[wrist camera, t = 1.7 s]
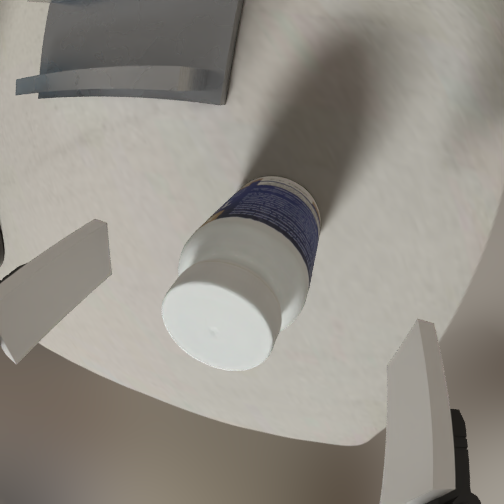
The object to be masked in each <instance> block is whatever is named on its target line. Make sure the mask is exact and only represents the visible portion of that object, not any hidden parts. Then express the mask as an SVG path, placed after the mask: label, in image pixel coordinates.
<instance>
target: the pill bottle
mask: <svg viewBox="0 0 504 504" xmlns="http://www.w3.org/2000/svg"><path fill="white" fill-rule="evenodd" d="M320 228H321V218H320V212H319V209H318V206H317V204H316V202H315V200H314V199H313V197H312V196H311V195H310V193H309V192H308V191H307V190H306V189H304V188H303V187H302V186H300V185H299V184H297V183H296V182H294V181H292V180H289V179H286V178H283V177H276V176H266V177H261V178H257V179H255V180H253V181H251V182H249V183H247V184H246V185H245V186H243V187H242V188H241V189H240V190H239V191H238V192H237V193H235V194H234V195H233V196H232V197H231V198H230V199H229V200H228V201H227V202H226V203H225V204H224V205H223V206H222V207H220V208H219V209H218V210H217V211H216V212H215V213H214V214H213V215H212V216H211V217H210V218H209V219H208V220H207V221H206V222H205V223H204V224H203V225H202V226H201V227H200V228H199V229H198V230H196V232H195V233H194V234H193V235H192V236H191V237H190V239H189V240H188V241H187V243H186V244H185V246H184V248H183V250H182V253H181V256H180V260H179V267H178V274H179V277H178V279H177V280H176V281H175V283H174V284H173V285H172V287H171V288H170V289H169V291H168V292H167V294H166V296H165V298H164V300H163V303H162V318H163V321H164V324H165V327H166V329H167V331H168V332H169V334H170V336H171V337H172V338H173V340H174V341H175V342H176V343H177V344H178V345H179V346H180V348H182V349H183V350H184V351H185V352H186V353H187V354H189V355H190V356H192V357H193V358H195V359H196V360H198V361H200V362H202V363H204V364H207V365H209V366H212V367H215V368H219V369H223V370H229V371H243V370H248V369H251V368H254V367H256V366H258V365H260V364H261V363H263V362H264V361H265V360H266V359H267V358H268V356H269V355H270V353H271V351H272V349H273V346H274V344H275V341H276V338H277V336H278V334H279V332H280V331H282V330H284V329H285V328H287V327H288V326H289V325H290V324H291V323H292V322H293V321H294V320H295V319H296V318H297V317H298V315H299V314H300V312H301V310H302V308H303V306H304V304H305V301H306V298H307V294H308V290H309V286H310V282H311V277H312V270H313V266H314V260H315V256H316V251H317V246H318V240H319V235H320Z"/></svg>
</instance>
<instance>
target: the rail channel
mask: <svg viewBox="0 0 504 504" xmlns="http://www.w3.org/2000/svg"><path fill="white" fill-rule="evenodd" d="M28 1H29V2H47V3H50V6H49V11H48V16H47V21H46V27H45V33H44V40H43V48H42V56H41V66H40V75H37V76H32V77H26V78H21V79H17V80H16V95H22V94H30V93H39V95H38V99H41V98H56V97H82V96H113V97H141V98H157V99H170V100H181V101H191V102H199V103H207V104H215V105H225V103H226V97H227V90H228V84H229V78H230V72H231V66H232V60H233V54H234V49H235V43H236V38H237V32H238V27H239V22H240V16H241V11H242V6H243V1H244V0H28Z"/></svg>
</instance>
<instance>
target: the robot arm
mask: <svg viewBox="0 0 504 504" xmlns="http://www.w3.org/2000/svg"><path fill="white" fill-rule="evenodd" d="M3 259H4V250H3V242H2V237H1V232H0V266H1V265H2V263H3ZM111 275H112V269H111V260H110V251H109V240H108V227H107V223H106V222H103V221H100V220H97V219H94V220H92V221H91V222H89V223H87V224H86V225H84V226H82V227H81V228H79V229H78V230H76V231H75V232H73V233H71V234H70V235H68V236H67V237H65V238H64V239H62V240H61V241H59V242H58V243H56V244H55V245H53V246H52V247H50V248H49V249H47V250H46V251H44V252H43V253H41V254H40V255H38V256H37V257H36V258H34V259H33V260H31V261H30V262H29V263H26V264H24V265H21V266H19V267H17V268H16V269H15V270H13V271H12V272H11V273H9V275H7V276H5V277H4V278H3V279H2V281H1V280H0V345H1V347H2V349H3V350H4V352H5V354H6V355H7V356H8V357H9V358H10V359H11V360H12V361H13V362H14V363H16V364H17V363H18V362H19V361H20V360H21V359H22V358H23V357H24V356H25V355H26V354H27V353H28V352H29V351H30V350H31V349H32V348H33V347H34V346H35V345H36V344H37V343H38V342H39V341H40V340H41V339H42V338H43V337H44V336H45V335H46V334H47V333H48V332H49V331H50V330H51V329H53V328H54V327H55V326H56V325H57V324H58V323H59V322H60V321H61V320H62V319H63V318H64V317H65V316H66V315H67V314H68V313H69V312H70V311H72V310H73V309H74V308H75V307H76V306H77V305H78V304H79V303H80V302H81V301H82V300H84V299H85V298H86V297H87V296H88V295H89V294H90V293H91V292H92V291H93V290H95V289H96V288H97V287H98V286H99V285H100V284H101V283H103V282H104V281H105V280H106V279H107V278H108V277H109V276H111ZM467 447H468V446H467V439H466V428H465V422H464V420H463V417H462V415H461V413H460V411H459V410H456V409H450V404H449V397H448V390H447V384H446V378H445V373H444V367H443V362H442V357H441V352H440V347H439V343H438V338H437V334H436V330H435V326H434V323H431V322H428V321H424V320H420V319H417V321H416V322H415V324H414V326H413V327H412V329H411V330H410V332H409V334H408V335H407V337H406V338H405V340H404V341H403V343H402V344H401V346H400V347H399V349H398V350H397V352H396V353H395V355H394V356H393V358H392V359H391V361H390V362H389V363H388V365H387V431H386V448H385V449H386V450H385V462H384V473H383V483H382V491H381V499H380V504H481V502H480V500H479V499H478V497H477V496H476V495H474V494H473V493H471V491H470V474H469V458H468V450H467Z"/></svg>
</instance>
